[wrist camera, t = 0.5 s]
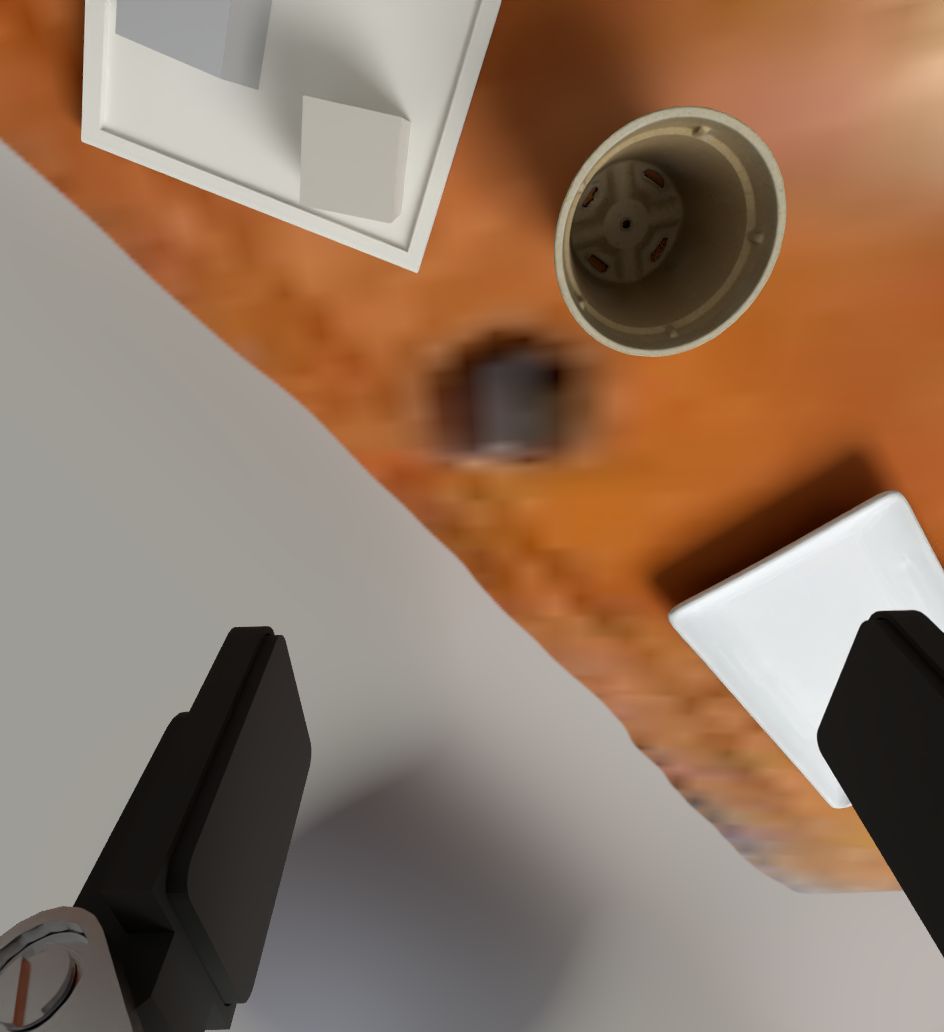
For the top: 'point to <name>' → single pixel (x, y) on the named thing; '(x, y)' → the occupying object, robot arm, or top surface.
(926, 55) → the top surface
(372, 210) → the beige block
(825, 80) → the top surface
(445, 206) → the top surface
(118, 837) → the robot arm
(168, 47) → the grey block
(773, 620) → the tray
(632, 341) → the flower pot
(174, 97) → the white dish
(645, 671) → the top surface
